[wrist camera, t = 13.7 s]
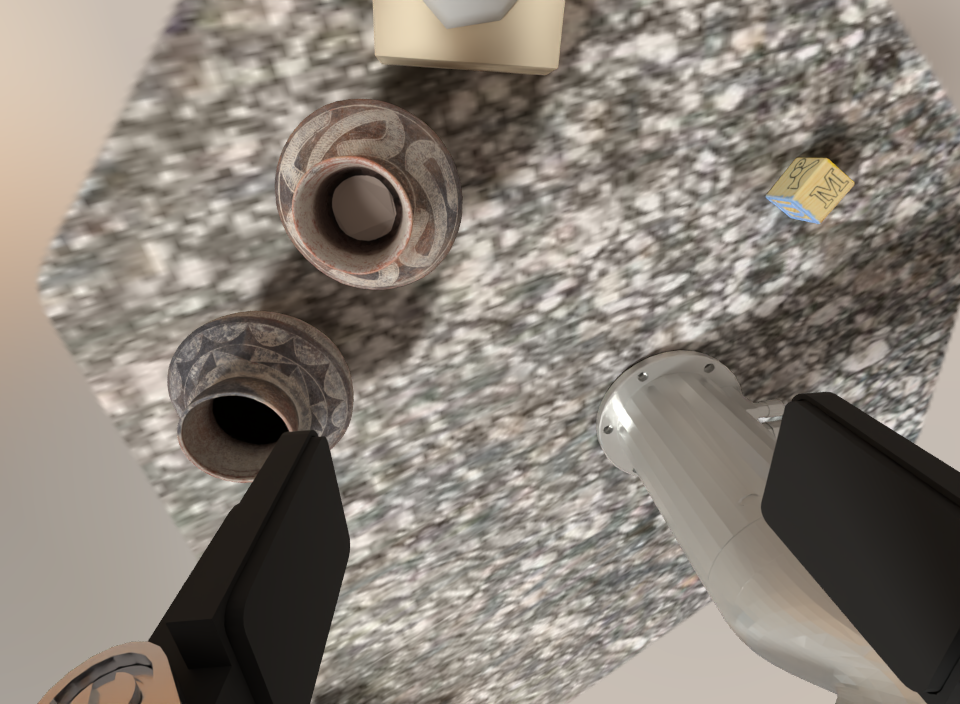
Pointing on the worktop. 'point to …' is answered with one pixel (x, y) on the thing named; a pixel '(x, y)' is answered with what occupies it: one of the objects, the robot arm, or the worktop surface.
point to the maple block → (470, 38)
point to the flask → (468, 11)
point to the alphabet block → (810, 189)
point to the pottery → (338, 254)
